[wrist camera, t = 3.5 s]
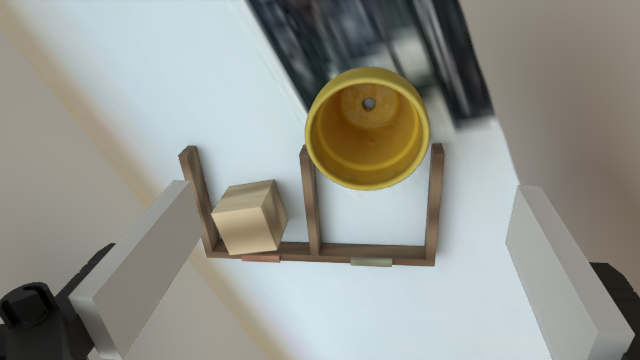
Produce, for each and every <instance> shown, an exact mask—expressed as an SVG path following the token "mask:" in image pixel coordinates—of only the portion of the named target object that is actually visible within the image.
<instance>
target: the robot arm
mask: <svg viewBox="0 0 640 360" xmlns="http://www.w3.org/2000/svg"><path fill="white" fill-rule="evenodd" d="M203 233H204V230H203V227H202V223H201V219H200V215H199V212H198V208H197V204H196V200H195V197H194V193H193V189H192V185H191V182H190V181H176V180H174V181H173V182H172V183H171V184H170V185H169V186H168V187H167V188H166V189H165V190H164V192H163V193H162V194H161V195H160V196H159V197H158V198H157V199H156V200H155V201H154V203H153V204H152V205H151V206H150V207H149V208H148V209H147V210H146V211H145V212H144V214H143V215H142V216H141V217H140V218H139V219H138V220H137V221H136V222H135V224H134V225H133V226H132V227H131V228H130V229H129V230H128V231H127V232H126V234H124V236H123V237H122V238H121V239H120V240H119V241H118V242H117V243H110V244H109V245H107V246H106V247H104V248H103V249H101V250H100V251H98V252H97V253H96V254H95V255H94V256H93V257H92V258H91V259H90V260H89V261H88V264H86V265H85V266H84V267H83V268H82V269H81V270H80V272H79V273H77V274H76V275H75V276H74V277H73V278H72V279H71V281H70V282H68V284H67V285H66V286H65V287H64V288H63V289H62V290H61V291H60V292H59V293H58V294H57V295H56V296H55V297H54V296H53V294H52V293H51V291H50V289H49V288H48V286H47V284H45V283H42V282H33V283H29V284H25V285H23V286H20V287H18V288H16V289H14V290H12V291H11V292H9V293H8V294H6V295H5V296H4V297H3V298H2V299H1V300H0V317H1V318H2V320H3V321H4V323H5V324H0V360H89V359H88V357H87V356H88V354H89V353H90V351H91V350H92V349H93V347H94V346H95V348H96V350H97V352H98V354H99V356H100V357H101V358H105V359H116V360H123V359H124V357H125V355H126V354H127V352H128V351H129V349H130V348H131V346H132V344H133V343H134V341H135V339H136V338H137V337H138V335H139V333H140V332H141V330H142V329H143V327H144V326H145V324H146V322H147V321H148V319H149V318H150V316H151V315H152V313H153V311H154V309H155V308H156V307H157V305H158V304H159V302H160V300H161V299H162V297H163V296H164V294H165V293H166V291H167V290H168V288H169V286H170V285H171V283H172V281H173V280H174V279H175V277H176V275H177V273H178V272H179V271H180V269H181V268H182V266H183V264H184V263H185V261H186V260H187V258H188V257H189V255H190V253H191V252H192V250H193V249H194V247H195V246H196V244H197V242H198V241H199V239H200V238H201V236H202V235H203ZM505 244H506V246H507V248H508V251H509V253H510V256H511V258H512V261H513V263H514V266H515V268H516V271H517V273H518V276H519V278H520V281H521V283H522V286H523V288H524V291H525V293H526V296H527V298H528V301H529V303H530V305H531V308H532V310H533V313H534V315H535V318H536V320H537V323H538V325H539V328H540V330H541V333H542V335H543V338H544V340H545V343H546V345H547V348H548V350H549V353H550V355H551V358H552V360H640V298H639V296H638V295H637V293H636V292H634V291H633V288H632V286H631V285H630V284H629V282H628V281H627V280H626V278H625V277H624V276H623V275H622V274H621V273H620V272H618V271H617V270H616V269H614V268H613V267H612V266H611V265H609V264H608V263H593V262H588V261H587V259H586V257H585V256H584V255H583V253H582V251H581V250H580V248H579V247H578V245H577V244H576V242H575V240H574V239H573V237H572V236H571V234H570V233H569V231H568V230H567V228H566V226H565V225H564V223H563V222H562V220H561V219H560V217H559V215H558V214H557V212H556V211H555V209H554V208H553V206H552V205H551V203H550V201H549V200H548V198H547V197H546V195H545V194H544V192H543V191H542V189H541V188H540V186H525V185H517V190H516V195H515V199H514V204H513V209H512V214H511V218H510V223H509V228H508V233H507V237H506V242H505Z"/></svg>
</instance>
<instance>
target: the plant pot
mask: <svg viewBox="0 0 640 360" xmlns="http://www.w3.org/2000/svg"><path fill="white" fill-rule="evenodd" d="M367 98H371V99H373V100H374V101H375V105H374V107H372V108H371V109H367V108H365V107H364V106H363V101H364V100H365V99H367ZM429 140H430V125H429V119H428V115H427V112H426V109H425V106H424V103H423V101H422V99H421V97H420V95H419V94H418V92H417V91H416V89H415V88H414V87H413V86H412V85H411V84H410V83H409V82H408V81H407V80H406V79H404V78H403V77H402V76H400V75H398V74H396V73H394V72H392V71H389V70H386V69H383V68H376V67H361V68H356V69H352V70H349V71H346V72H344V73H342V74H340V75H338V76H336V77H335V78H333V79H332V80H331V81H330V82H328V83H327V84H326V85H325V86H324V87H323V89H322V90H321V91H320V93H319V94H318V95H317V97H316V99H315V101H314V103H313V104H312V107H311V109H310V111H309V114H308V117H307V120H306V125H305V143H306V147H307V151H308V153H309V156H310V158H311V160H312V161H313V163H314V164H315V166H316V167H317V168H318V169H319V170H320V171H321V172H322V173H323V174H324V175H325V176H326V177H327V178H329V179H330V180H332V181H333V182H335V183H337V184H339V185H341V186H344V187H347V188H350V189H355V190H365V191H368V190H379V189H383V188H387V187H390V186H393V185H395V184H397V183H399V182H401V181H402V180H404V179H405V178H407V177H408V176H409V175H410V174H412V173H413V172H414V171H415V170H416V168H417V167H418V166H419V165H420V163H421V162H422V160H423V158H424V156H425V154H426V152H427V149H428V145H429Z"/></svg>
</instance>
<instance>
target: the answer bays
mask: <svg viewBox="0 0 640 360" xmlns="http://www.w3.org/2000/svg"><path fill="white" fill-rule="evenodd" d="M178 157H179V160H180V164H181V167H182V171H183V174H184V178H185V181H190V182H191V185H192V189H193V193H194V197H195V200H196V204H197V208H198V212H199V215H200V219H201V223H202V227H203V230H204V233H203V235H202V236H201V238H202V242H203V245H204V249H205V252H206V256H207V258H232V259H242V261H254V262H279V263H280V261H281V260H282V261H308V262H333V263H351V265H353V266H378V267H392V265H409V266H435V254H436V243H437V231H438V220H439V208H440V197H441V186H442V174H443V163H444V152H443V148H442V144H432V146H431V160H430V175H429V189H428V204H427V218H426V233H425V246H399V245H368V244H336V243H321V233H320V222H319V212H318V201H317V191H316V180H315V170H314V163H313V161H312V160H311V158H310V156H309V153H308V151H307V147H306V145H303V147H302V150H301V152H300V154H299V157H300V166H301V175H302V183H303V192H304V201H305V210H306V218H307V227H308V236H309V243H305V242H280V244H279V246H278V249H277V250H273V251H264V252H255V253H245V254H236V255H229V252H228V250H227V248H226V246H225V244H224V241H223V240H219V236H218V232H217V228H216V224H215V222H214V220H213V217H212V215H211V213H212V209H211V205H210V201H209V197H208V193H207V189H206V185H205V181H204V177H203V173H202V169H201V166H200V162H199V158H198V154H197V150H196V146H187V147H186V148H185V149H184V150H183V151H182V152H181V153H180V154H179V155H178Z"/></svg>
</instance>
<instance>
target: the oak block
mask: <svg viewBox="0 0 640 360" xmlns="http://www.w3.org/2000/svg"><path fill="white" fill-rule="evenodd" d="M211 215H212V217H213V220H214V222H215V224H216V226H217V228H218V231H219V233H220V235H221V237H222V239H223V241H224V244H225V246H226V248H227V250H228V252H229V255H236V254H245V253H255V252H264V251H273V250H277V249H278V246H279V244H280V241H281V238H282V235H283V233H284V230H285V227H286V224H287V222H288V218H287V215H286V212H285V209H284V206H283V204H282V201H281V198H280V195H279V192H278V189H277V187H276V184H275V181H274V179H273V180H267V181H260V182H254V183H248V184H241V185H235V186H229V187H228V189H227V190H226V192H225V193H224V195H223V196H222V198H221V199H220V201H219V202H218V204H217V205H216V207H215V208H214V210H213V211H212V213H211Z"/></svg>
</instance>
